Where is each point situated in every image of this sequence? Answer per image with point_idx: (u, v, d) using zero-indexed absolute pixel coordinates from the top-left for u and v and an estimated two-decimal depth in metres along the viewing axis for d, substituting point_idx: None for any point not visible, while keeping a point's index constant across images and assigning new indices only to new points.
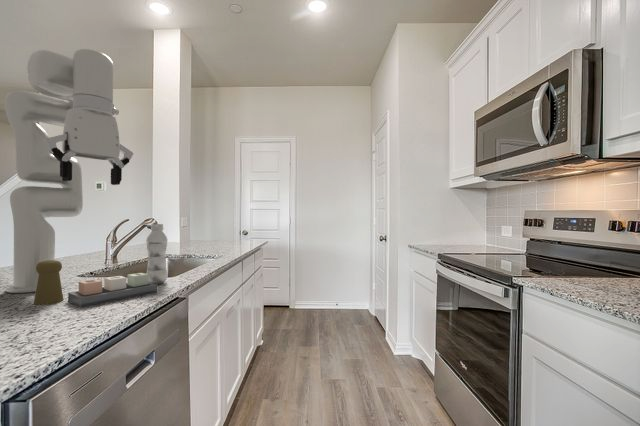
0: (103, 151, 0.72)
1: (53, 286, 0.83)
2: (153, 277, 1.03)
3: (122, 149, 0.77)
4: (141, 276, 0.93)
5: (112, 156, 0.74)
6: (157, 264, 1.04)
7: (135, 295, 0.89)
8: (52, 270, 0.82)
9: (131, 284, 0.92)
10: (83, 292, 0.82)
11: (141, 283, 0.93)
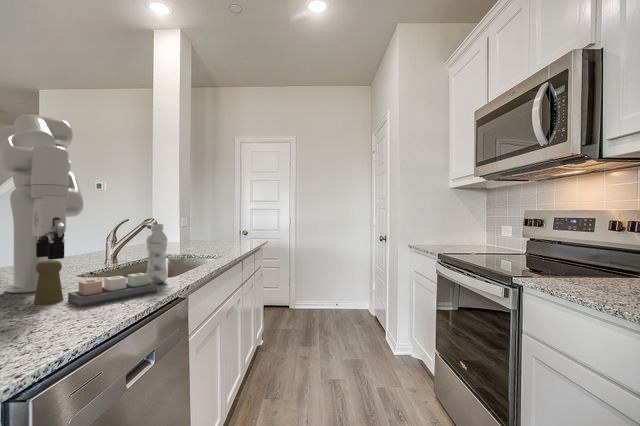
0: None
1: (53, 286, 0.83)
2: (153, 277, 1.03)
3: None
4: (141, 276, 0.93)
5: None
6: (158, 264, 1.04)
7: (135, 295, 0.89)
8: (52, 270, 0.82)
9: (131, 284, 0.92)
10: (83, 292, 0.82)
11: (141, 283, 0.93)
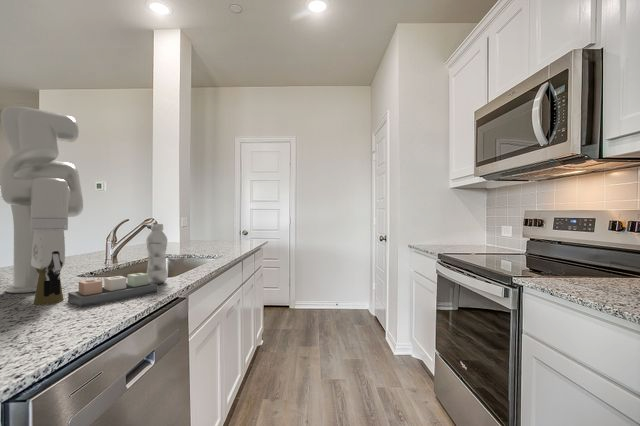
0: None
1: None
2: (153, 277, 1.03)
3: None
4: (141, 276, 0.93)
5: None
6: (158, 264, 1.04)
7: (135, 295, 0.89)
8: (52, 270, 0.82)
9: (131, 284, 0.92)
10: (83, 292, 0.82)
11: (141, 283, 0.93)
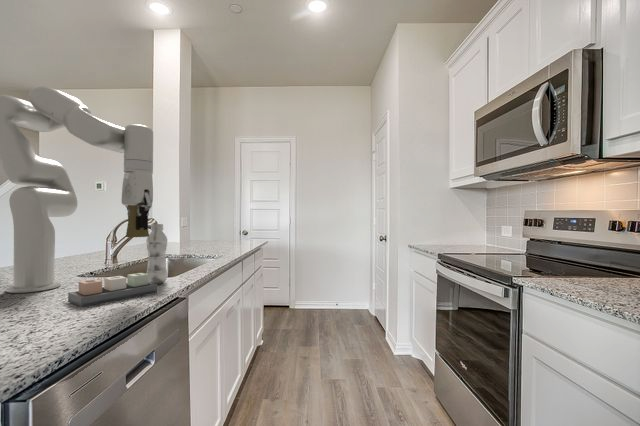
0: None
1: None
2: (153, 277, 1.03)
3: None
4: (141, 276, 0.93)
5: None
6: (158, 264, 1.04)
7: (135, 295, 0.89)
8: None
9: (131, 284, 0.92)
10: (83, 292, 0.82)
11: (141, 283, 0.93)
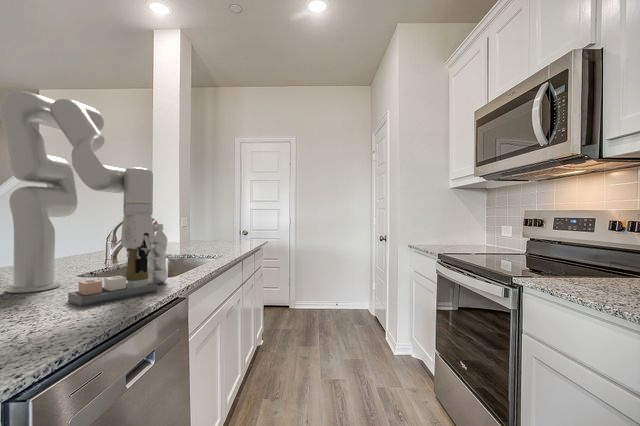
0: None
1: None
2: (153, 277, 1.03)
3: None
4: (141, 281, 0.93)
5: None
6: (157, 264, 1.04)
7: (135, 295, 0.89)
8: (141, 250, 0.93)
9: None
10: (83, 292, 0.82)
11: None
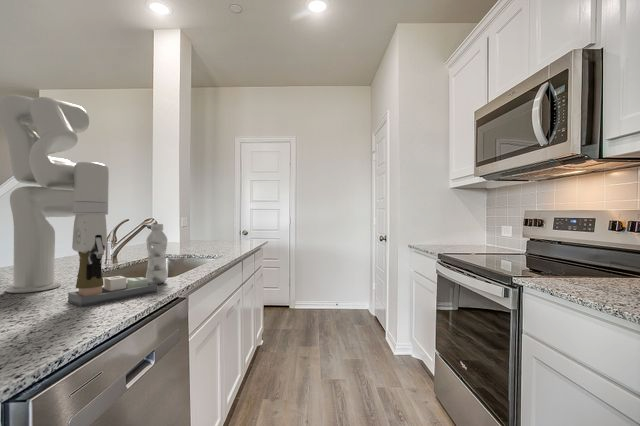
0: None
1: None
2: (153, 277, 1.03)
3: None
4: (141, 281, 0.93)
5: None
6: (158, 264, 1.04)
7: (135, 295, 0.89)
8: (94, 254, 0.83)
9: None
10: None
11: None
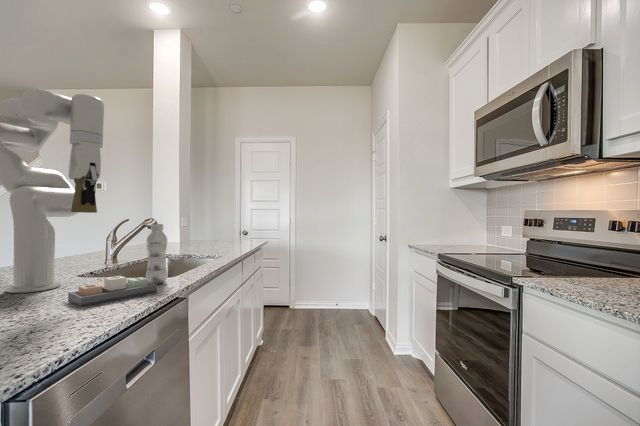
0: None
1: None
2: (153, 277, 1.03)
3: None
4: (141, 281, 0.93)
5: None
6: (157, 264, 1.04)
7: (135, 295, 0.89)
8: None
9: None
10: None
11: None
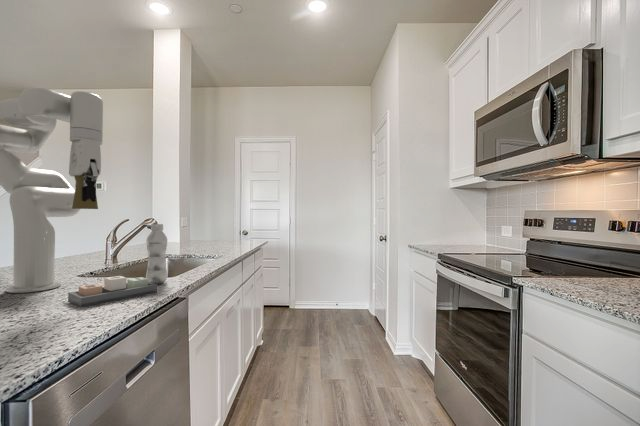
0: None
1: None
2: (153, 277, 1.03)
3: None
4: (141, 281, 0.93)
5: None
6: (157, 264, 1.04)
7: (135, 295, 0.89)
8: None
9: None
10: None
11: None
